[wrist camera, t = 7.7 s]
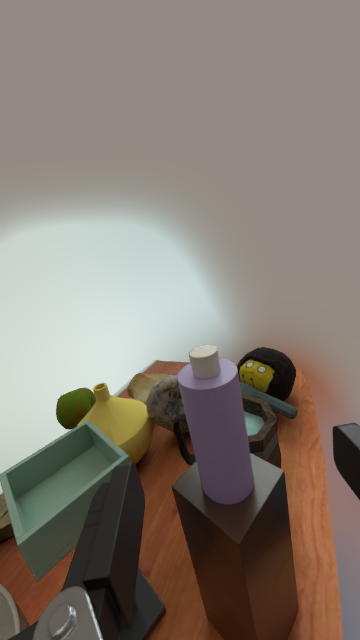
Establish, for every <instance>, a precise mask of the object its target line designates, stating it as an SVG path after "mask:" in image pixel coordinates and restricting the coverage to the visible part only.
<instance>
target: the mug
mask: <svg viewBox="0 0 360 640" xmlns="http://www.w3.org/2000/svg"><path fill="white" fill-rule="evenodd" d="M241 396H242V402H243V409H244V416H245V422H246V429H247V436H248V443H249V449H250V453H251V454H253V455H255V456H257V457H259V458H261V459H263V460H265V461H267V462H268V463H270V464H272V465H274V466H276V467H278V468H280V469H281V453H280V448H279V444H278V437H277V420H278V419H277V417H276V416H275V414H274V412H273V411H272V409H271V407H270V406H269V404H268V402H267V401H266V400H263V399H260V398H257V397H254V396H250V395H247V394H244V393H241ZM179 422H184V423H186V424H187V419H186V415H185V413H183V414H180V415H177V416H176V417H175V419H174V424H173V431H174V434H175V437H176V439H177V443H178V446H179V450H180V453H181V456H182V457H183V459H184V460H185V461H186V463H187V464H189V465H192V464H193V463H194V462H195V461H196V459H195V457H194V456H192V455H190V453H189V452H188V450H187V447H186V444H185V440H184V436H183V433H182V431H181V428H180V426H179Z"/></svg>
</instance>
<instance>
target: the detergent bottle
mask: <svg viewBox="0 0 360 640" xmlns="http://www.w3.org/2000/svg"><path fill="white" fill-rule="evenodd" d="M189 357H190V362H191V363H190V364H188V365H187V366H185V367H184V368H182V369H181V370H180V372H179V373H178V377H177V380H178V384H179V388H180V393H181V397H182V402H183V406H184V410H185V415H186V419H187V424H188V428H189V432H190V437H191V441H192V446H193V450H194V454H195V459H196V463H197V468H198V472H199V476H200V481H201V485H202V488H203V490H204V492H205V494H206V495H207V496H208V497H209V498H210V499H212V500H213V501H215V502H217V503H220V504H226V505H230V504H236V503H239V502H241V501H243V500H244V499H245V498H246V497H248V495H249V494H250V493H251V491H252V488H253V485H254V476H253V470H252V463H251V456H250V449H249V443H248V436H247V429H246V422H245V416H244V409H243V402H242V396H241V389H240V382H239V375H238V369H237V367H236V365H235V364H234V363H233V362H231V361H229V360H226V359H220V358H219V357H218V351H217V348H216V347H215V346H212V345H203V346H198V347H195V348H193V349H192V350H191V351H190V352H189Z"/></svg>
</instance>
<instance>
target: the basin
mask: <svg viewBox="0 0 360 640" xmlns="http://www.w3.org/2000/svg"><path fill="white" fill-rule="evenodd" d="M127 463H131V461H130V458H129V456H128V455H127V454H126V453H125V452H124V451H123V450H122V449H121V448H120V447H118V446H117V445H116V444H115V443H114V442H113V441H112V440H111V439H110V438H108V437H107V436H106V435H105V434H104V433H103V432H102V431H101V430H99V429H98V428H97V427H96V426H95V425H94V424H93V423H92V422H91V421H89V420H87V421H85V422H83V423H82V424H80V425H79V426H77V427H75V428H74V429H72V430H71V431H69V432H67V433H66V434H64V435H63V436H61V437H59V438H58V439H56V440H54V441H53V442H51V443H50V444H48V445H46V446H45V447H43V448H42V449H40V450H38V451H37V452H35V453H34V454H32V455H30V456H29V457H27V458H26V459H24V460H22V461H21V462H19V463H18V464H16V465H14V466H13V467H11V468H9V469H8V470H6V471H5V472H3V473H1V474H0V482H1V486H2V489H3V494H4V497H5V501H6V505H7V509H8V512H9V516H10V520H11V524H12V527H13V531H14V535H15V539H16V542H17V546H18V548H19V550H20V551H21V553H22V555H23V557H24V559H25V560H26V562H27V564H28V566H29V568H30V570H31V571H32V573H33V575H34V577H35V579H36V581H39V580H40V579H41V578H42V577H43V576H44V575H45V574H46V573H47V572H48V571H50V570H51V569H52V568H53V567H54V566H55V565H56V564H57V563H58V562H59V561H60V560H61V559H62V558H63V557H65V556H66V555H67V554H68V553H69V552H70V551H71V550H72V549H73V548H74V547H75V546H76V545H77V544H78V541H79V538H80V535H81V531H82V529H83V528H84V526H83V525H84V522H85V519H86V516H87V515H88V510H89V507H90V504H91V501H92V498H93V496H94V495H95V493H96V492H97V490H98V489H99V487H100V486H101V484H102V483H107V482H110V479H111V475H112V472H113V468H114V467H115V466H117V465H122V464H127ZM165 612H166V608H165V605H164V604H163V602H162V601H161V599H160V598H159V597H158V595H157V594H156V592H155V591H154V589H153V588H152V586H151V585H150V584H149V582H148V581H147V579H146V578H145V576H144V575H143V573H142V572H141V570H140V569H139V568H138V571H137V580H136V589H135V598H134V606H133V615H132V624H131V630H125V631H119V637H118V640H146V639H147V638H148V636H149V635H150V634H151V632H152V631H153V629H154V628H155V626H156V625H157V623H158V622H159V620H160V619H161V618H162V616H163V615H164V613H165Z"/></svg>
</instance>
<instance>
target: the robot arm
mask: <svg viewBox="0 0 360 640" xmlns="http://www.w3.org/2000/svg"><path fill="white" fill-rule="evenodd" d="M333 455H334V461H335V464H336V466H337V469H338V471H339V472H340V474H341V475H342V477H343V478H344V479H345V481H346V482H347V484H348V485H349V486H350V487H351V489H352V490H353V492H354V493H355V494H356V496H357V497H358V498H359V500H360V426H359V425H357V424H356V423H350V424H344V425H339V426H334V427H333ZM144 509H145V499H144V491H143V488H142V485H141V481H140V478H139V475H138V472H137V469H136V466H135V464H134V463H127V464H122V465H117V466H115V467H114V468H113V472H112V475H111V479H110V482H107V483H102V484H101V486H100V487H99V489H98V490H97V492H96V493H95V495H94V496H93V498H92V501H91V504H90V507H89V510H88V515H87V516H86V519H85V522H84V525H83V526H84V528H83V529H82V531H81V535H80V538H79V541H78V544H77V547H76V550H75V553H74V556H73V559H72V562H71V565H70V568H69V571H68V574H67V577H66V580H65V583H64V586H63V588H62V590H61V592H60V593H59V594H58V595H57V596H56V597H55V598H54V599H53V600H52V601H51V602H50V603H49V604H48V606H47V607H46V609H45V610H44V611H43V613H42V615H41V617H40V619H39V620H38V621H37V622H36V623H34V624H33V625H31V626H30V627H28V628H26V629H25V630H23V631H21V632H20V633H18V634H16V635H15V636H13V637H11V638H10V639H8V640H118V637H119V631H125V630H131V624H132V615H133V606H134V598H135V589H136V580H137V571H138V562H139V553H140V545H141V536H142V527H143V518H144Z"/></svg>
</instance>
